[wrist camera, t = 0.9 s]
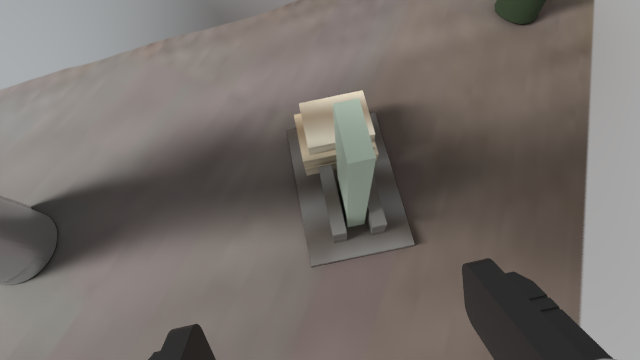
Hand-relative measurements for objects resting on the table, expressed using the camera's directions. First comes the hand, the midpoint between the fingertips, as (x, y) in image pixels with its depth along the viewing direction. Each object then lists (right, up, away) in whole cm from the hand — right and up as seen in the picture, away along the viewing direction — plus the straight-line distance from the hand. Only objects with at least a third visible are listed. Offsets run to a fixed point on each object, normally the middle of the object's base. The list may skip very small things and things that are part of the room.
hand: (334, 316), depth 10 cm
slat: (+3, +1, +31) cm, 31 cm away
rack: (+3, +3, +33) cm, 33 cm away
